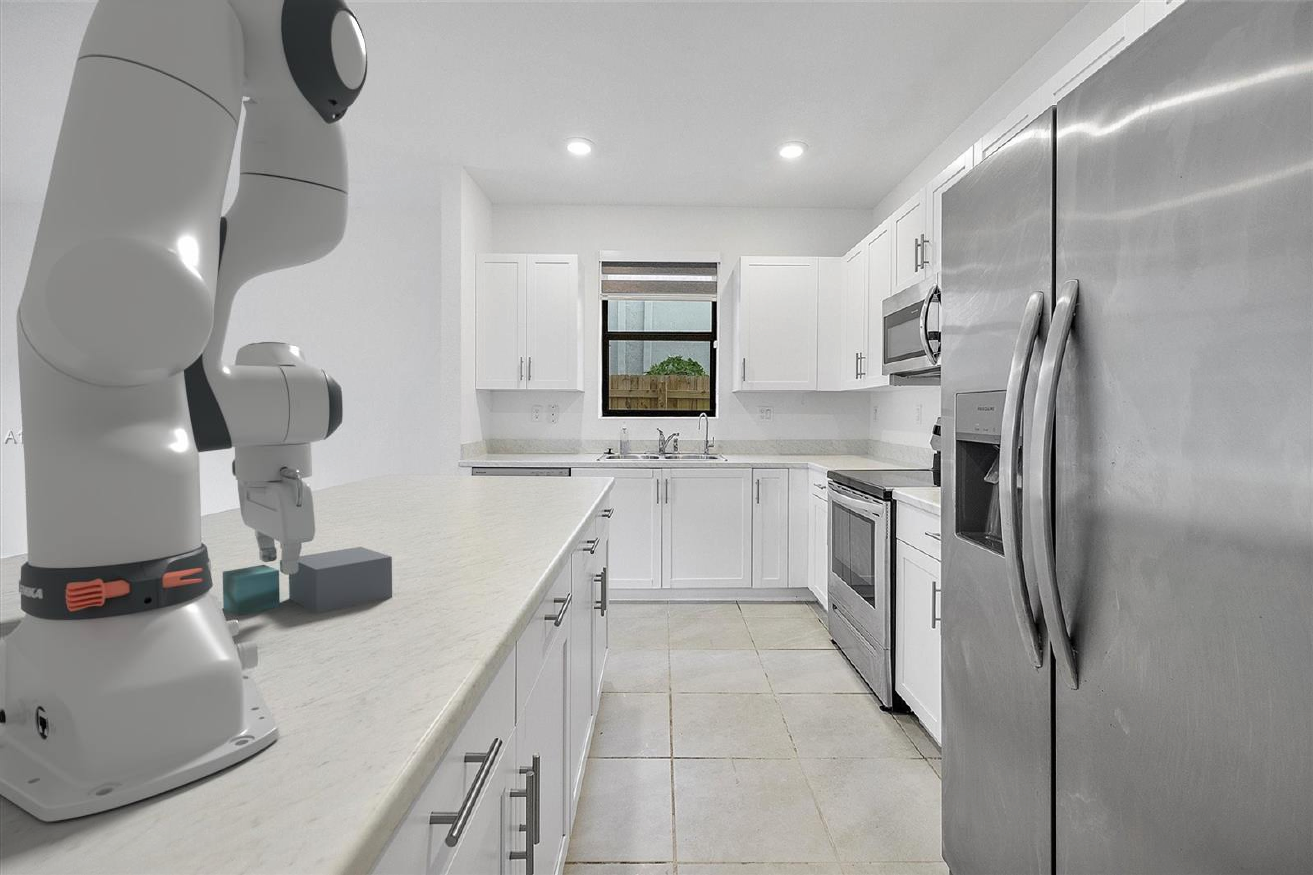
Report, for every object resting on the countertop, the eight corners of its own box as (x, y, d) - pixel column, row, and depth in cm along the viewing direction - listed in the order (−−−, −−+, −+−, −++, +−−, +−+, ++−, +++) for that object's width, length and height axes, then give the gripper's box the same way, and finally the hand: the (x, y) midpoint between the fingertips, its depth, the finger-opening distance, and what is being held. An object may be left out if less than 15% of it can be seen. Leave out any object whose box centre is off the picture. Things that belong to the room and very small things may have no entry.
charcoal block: (392, 598, 90) (391, 556, 90) (317, 615, 83) (316, 569, 82) (361, 586, 97) (360, 546, 96) (289, 600, 89) (288, 557, 89)
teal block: (279, 607, 86) (279, 570, 85) (237, 616, 82) (236, 577, 82) (264, 600, 89) (263, 564, 89) (223, 608, 85) (222, 571, 85)
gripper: (327, 468, 81) (330, 576, 81) (278, 459, 95) (281, 551, 96) (270, 473, 76) (275, 586, 77) (228, 462, 90) (232, 558, 91)
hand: (278, 566), depth 86 cm, fingers open, 8 cm apart
